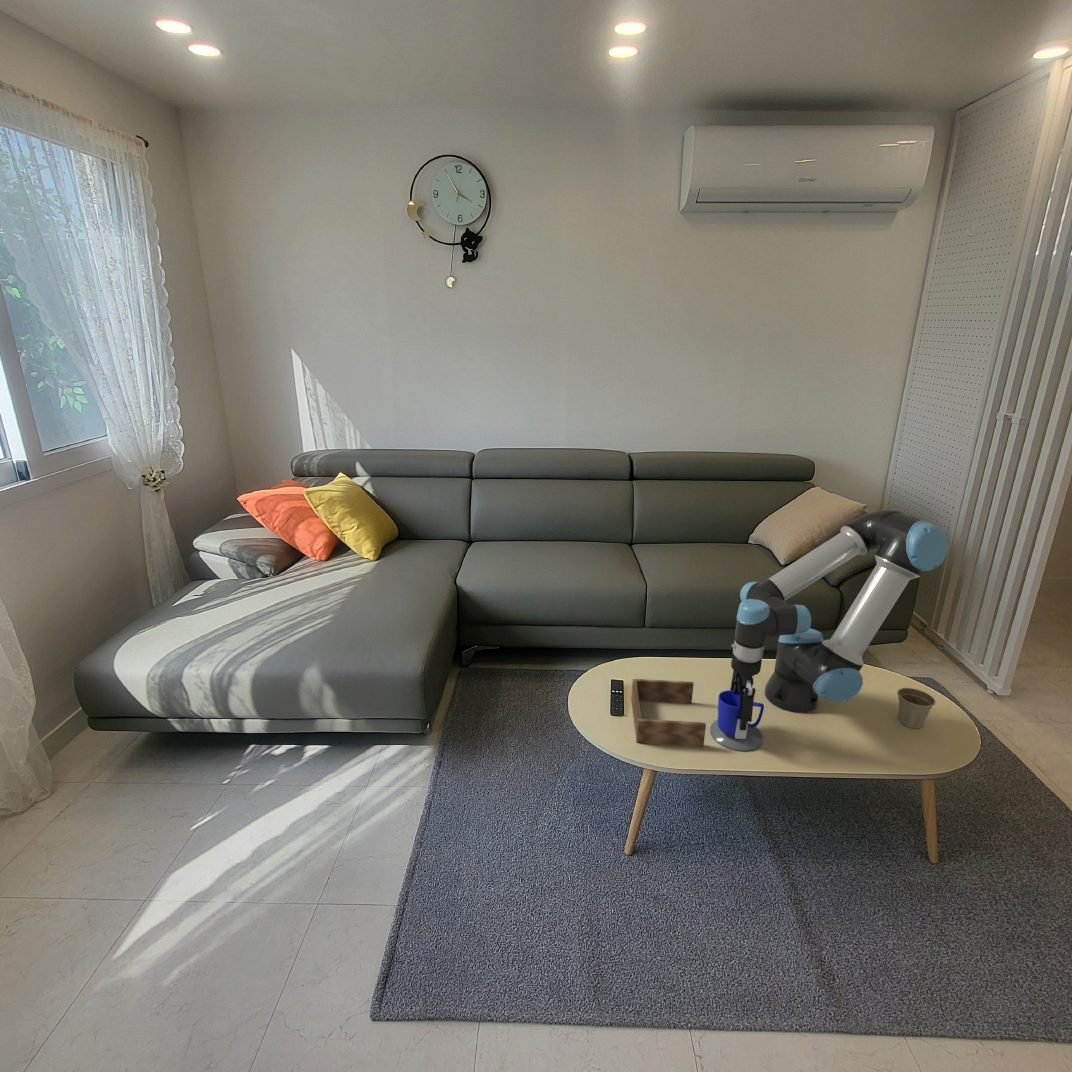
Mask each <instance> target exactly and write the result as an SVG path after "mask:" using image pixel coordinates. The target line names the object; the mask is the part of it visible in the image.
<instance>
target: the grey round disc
mask: <svg viewBox="0 0 1072 1072" xmlns="http://www.w3.org/2000/svg"><path fill="white" fill-rule="evenodd" d="M748 724H751V722H748ZM709 733H710V735H711V737H712V739H713V740H714V741H715V742H716V743H717V744H719V745H720V746H722V747H724V748H726V749H729V750H731V751H735V752H744V753H745V752H753V751H755V750H757V749H760V748H761V746H762V744H763V740H764V739H763V734H762V733H761V731H760V730H759V729H758V728H757V726H756V727H754V728H749V727H747V733H746V739H738V738H735V735H728V734H725V733H723V732H722V731H721V730H720V729H719V727H718V719H716V720H715V721H713V722H712V723H711V725H710V727H709Z"/></svg>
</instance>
